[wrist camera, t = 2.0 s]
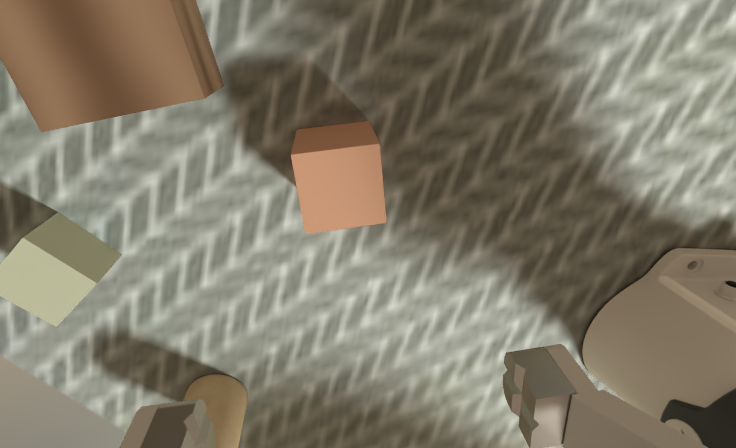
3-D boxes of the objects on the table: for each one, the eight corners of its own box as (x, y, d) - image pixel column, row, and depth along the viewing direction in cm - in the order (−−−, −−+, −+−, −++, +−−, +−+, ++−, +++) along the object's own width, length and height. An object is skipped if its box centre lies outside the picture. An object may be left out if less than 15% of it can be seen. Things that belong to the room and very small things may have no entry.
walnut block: (169, -83, 23) (131, -108, 18) (224, 85, 27) (204, 98, 22) (9, -50, 23) (-69, -67, 18) (88, 113, 27) (41, 132, 22)
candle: (182, 374, 37) (137, 487, 28) (246, 372, 37) (221, 482, 28) (190, 416, 39) (151, 533, 30) (250, 414, 40) (229, 528, 31)
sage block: (123, 253, 31) (97, 283, 28) (85, 293, 32) (56, 326, 29) (59, 211, 29) (22, 237, 26) (22, 255, 30) (-18, 286, 27)
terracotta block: (368, 120, 28) (379, 143, 23) (375, 187, 31) (386, 222, 25) (296, 129, 28) (290, 154, 23) (308, 196, 30) (305, 233, 25)
